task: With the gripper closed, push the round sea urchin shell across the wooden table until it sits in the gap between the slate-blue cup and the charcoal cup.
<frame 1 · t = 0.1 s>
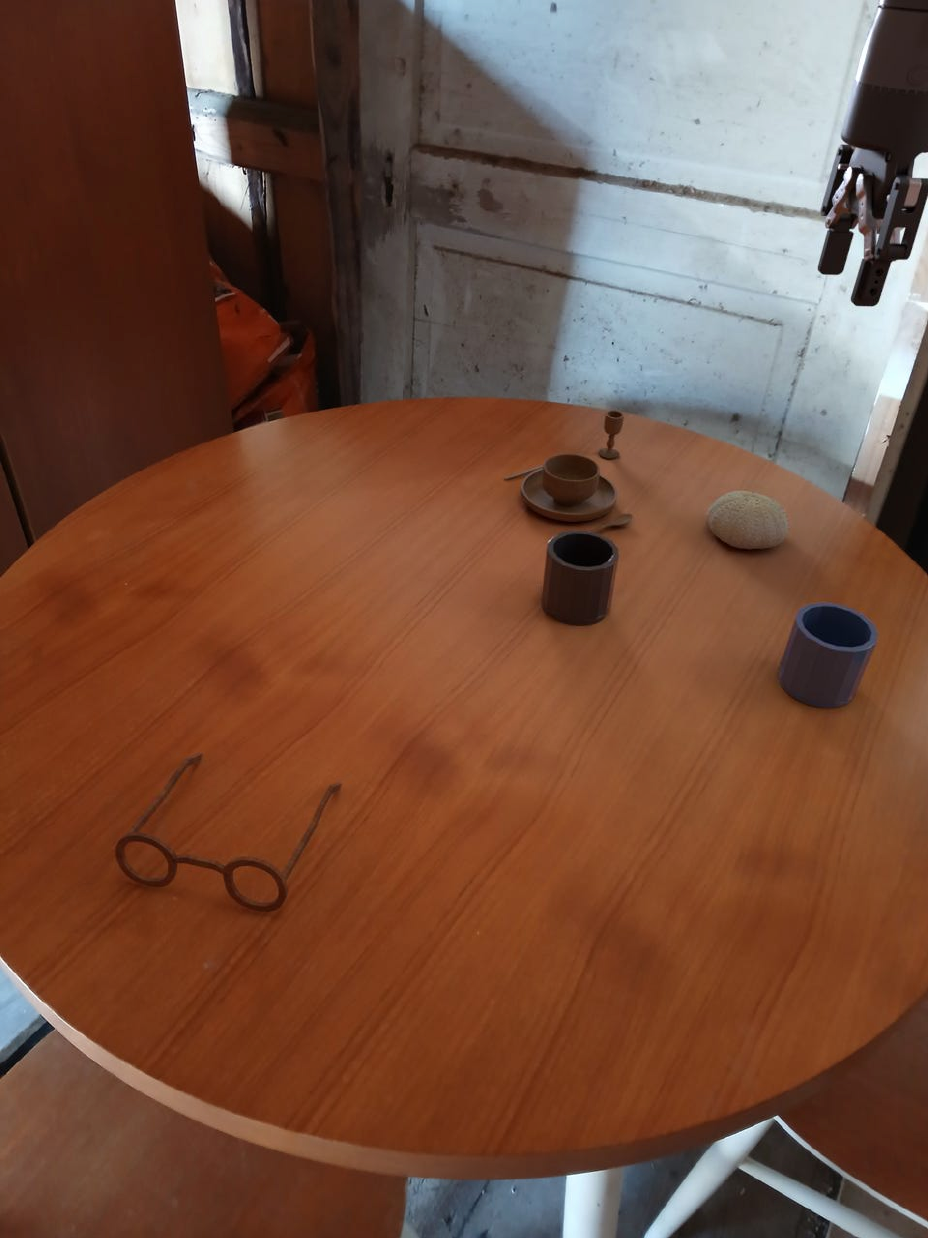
hand: (845, 288, 80), 32 cm above the table, tool pointing down, fingers open, 8 cm apart
blue cup: (815, 682, 87), on the table
glasses: (239, 833, 71), on the table
place setting: (591, 493, 115), on the table
sea urchin shell: (743, 536, 108), on the table
charcoal cup: (575, 604, 96), on the table
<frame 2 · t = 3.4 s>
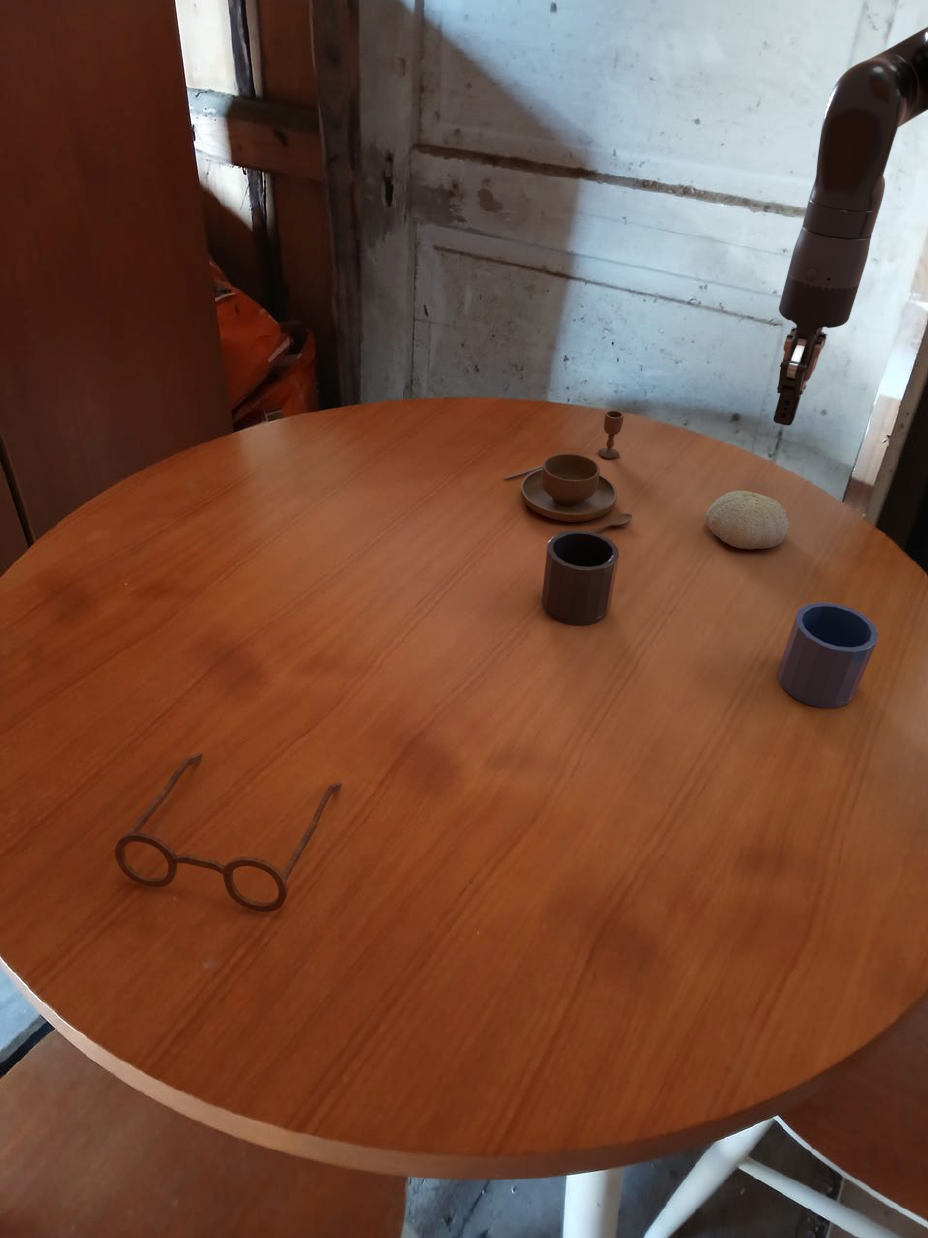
hand: (783, 421, 108), 11 cm above the table, tool pointing down, fingers closed
nothing on the table moved.
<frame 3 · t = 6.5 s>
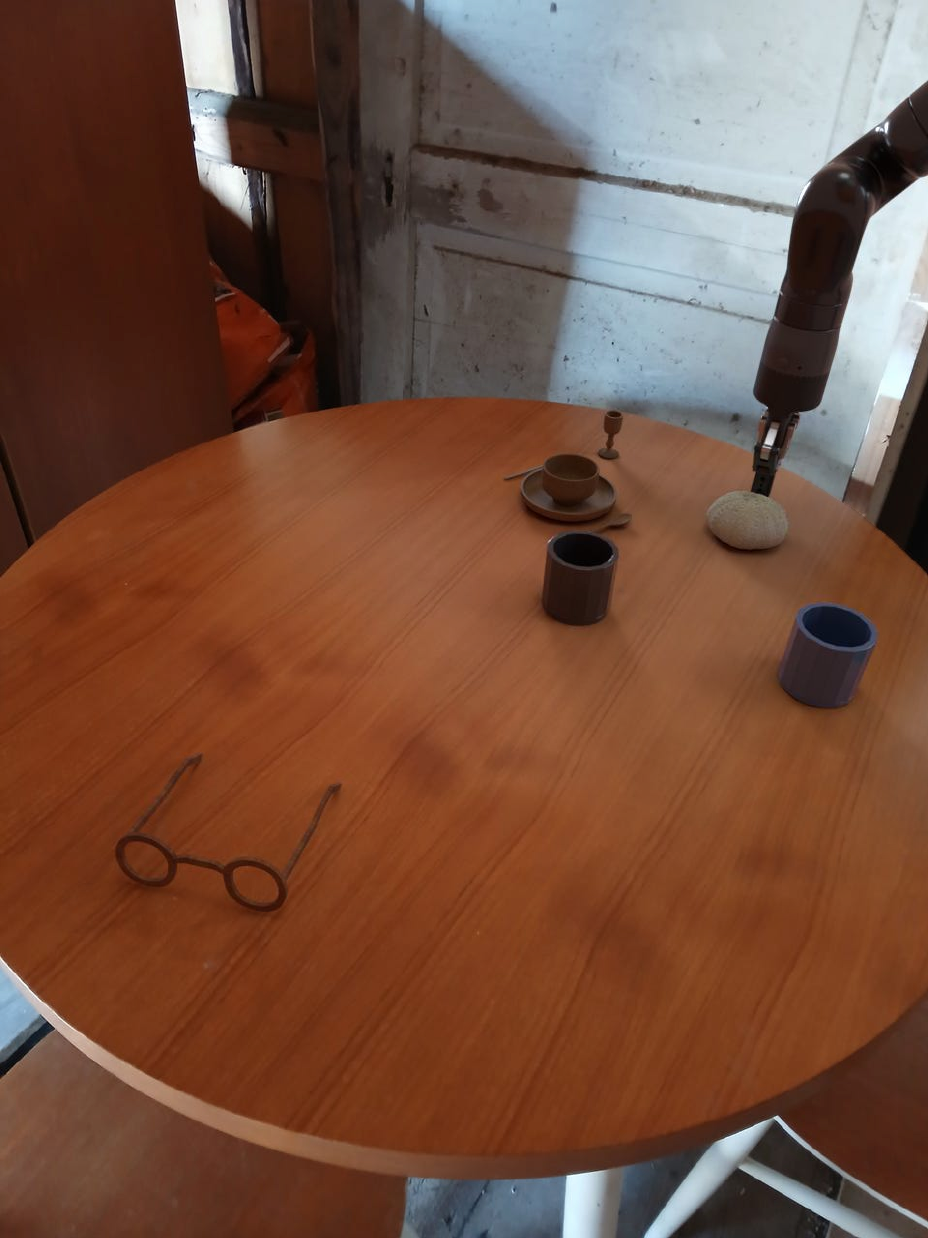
hand: (759, 495, 110), 3 cm above the table, tool pointing down, fingers closed
sea urchin shell: (743, 536, 108), on the table, touching gripper
everything else where it was.
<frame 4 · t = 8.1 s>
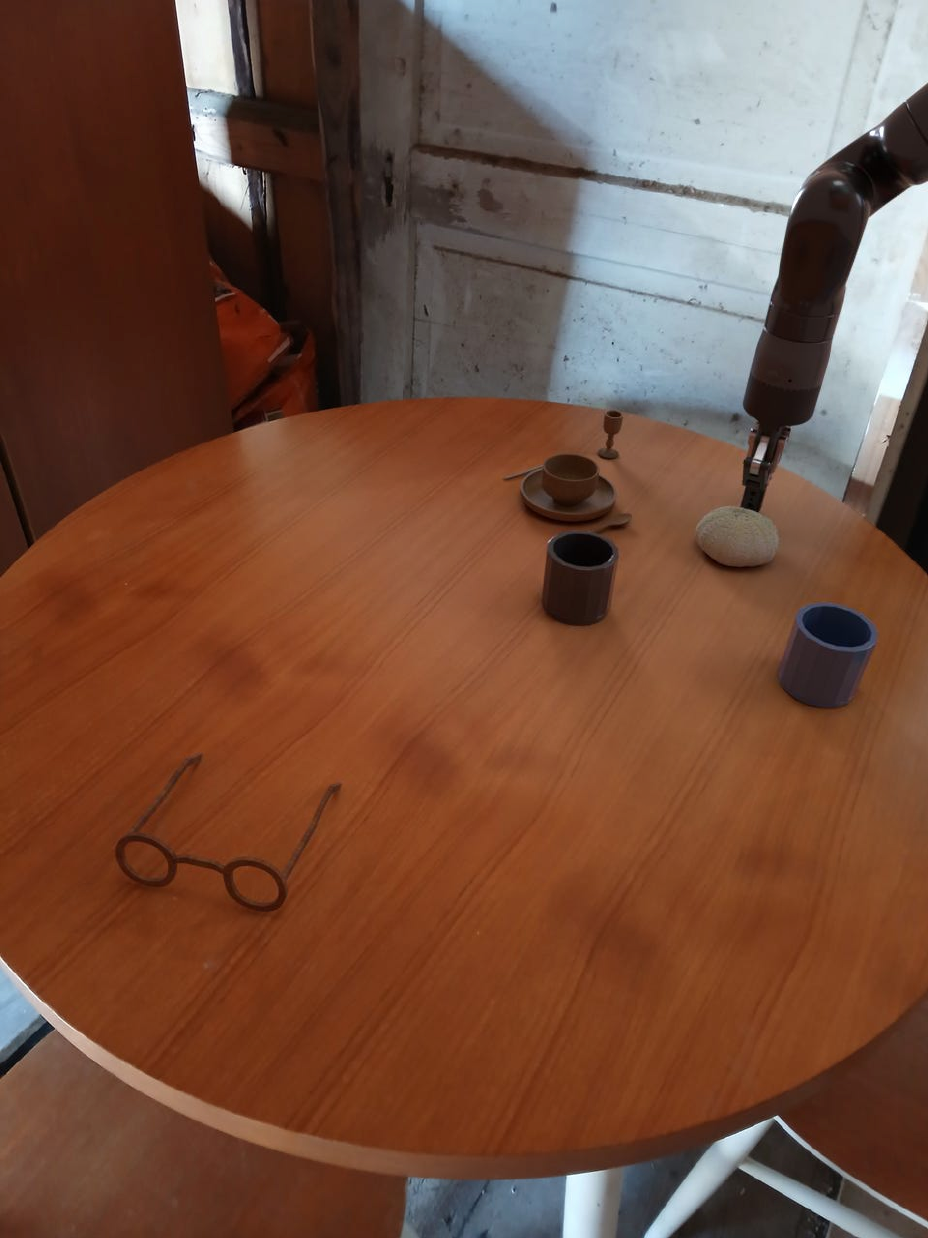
hand: (750, 510, 107), 3 cm above the table, tool pointing down, fingers closed
sea urchin shell: (733, 552, 105), on the table, touching gripper
everything else where it was.
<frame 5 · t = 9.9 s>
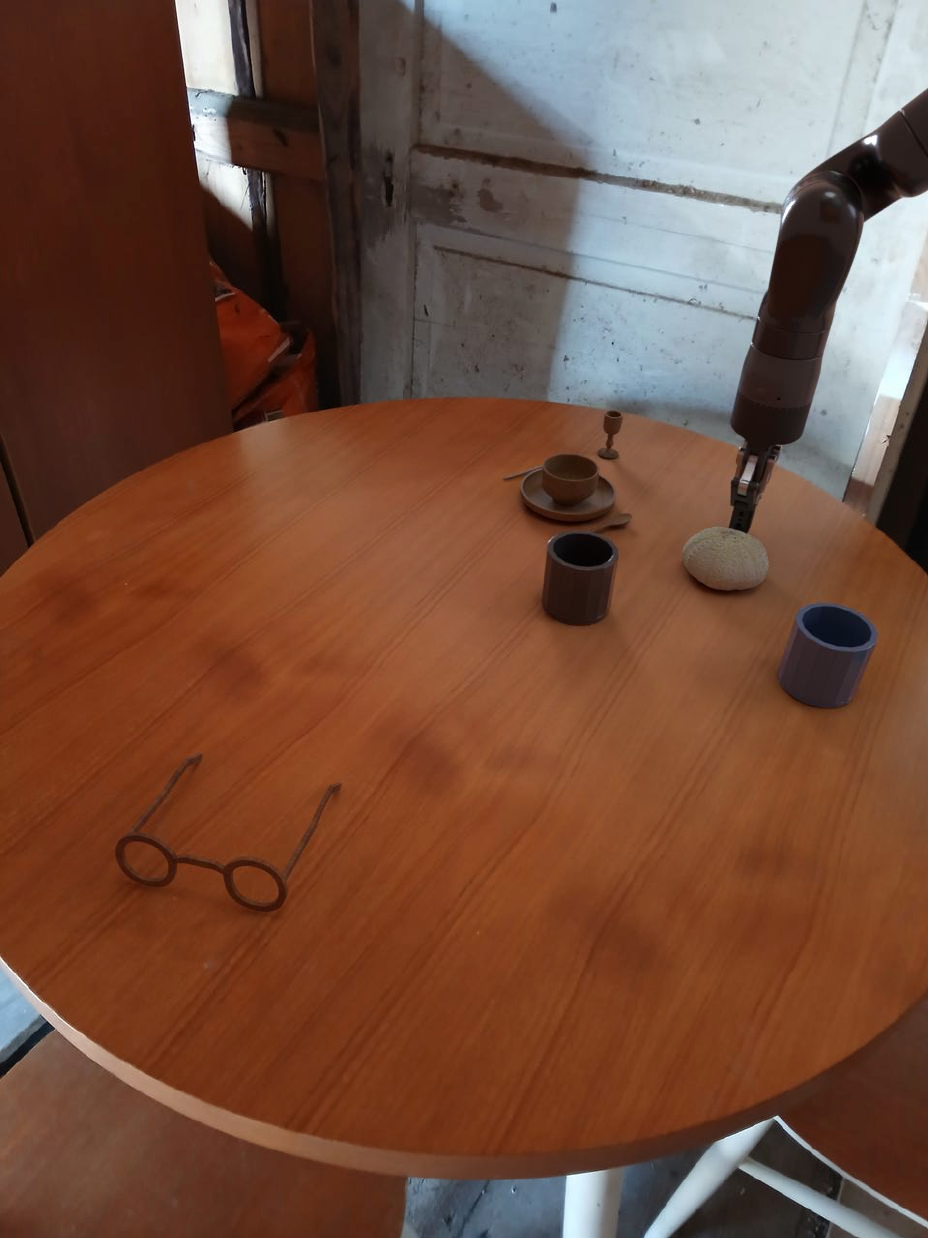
hand: (738, 530, 103), 3 cm above the table, tool pointing down, fingers closed
sea urchin shell: (721, 575, 101), on the table, touching gripper
everything else where it was.
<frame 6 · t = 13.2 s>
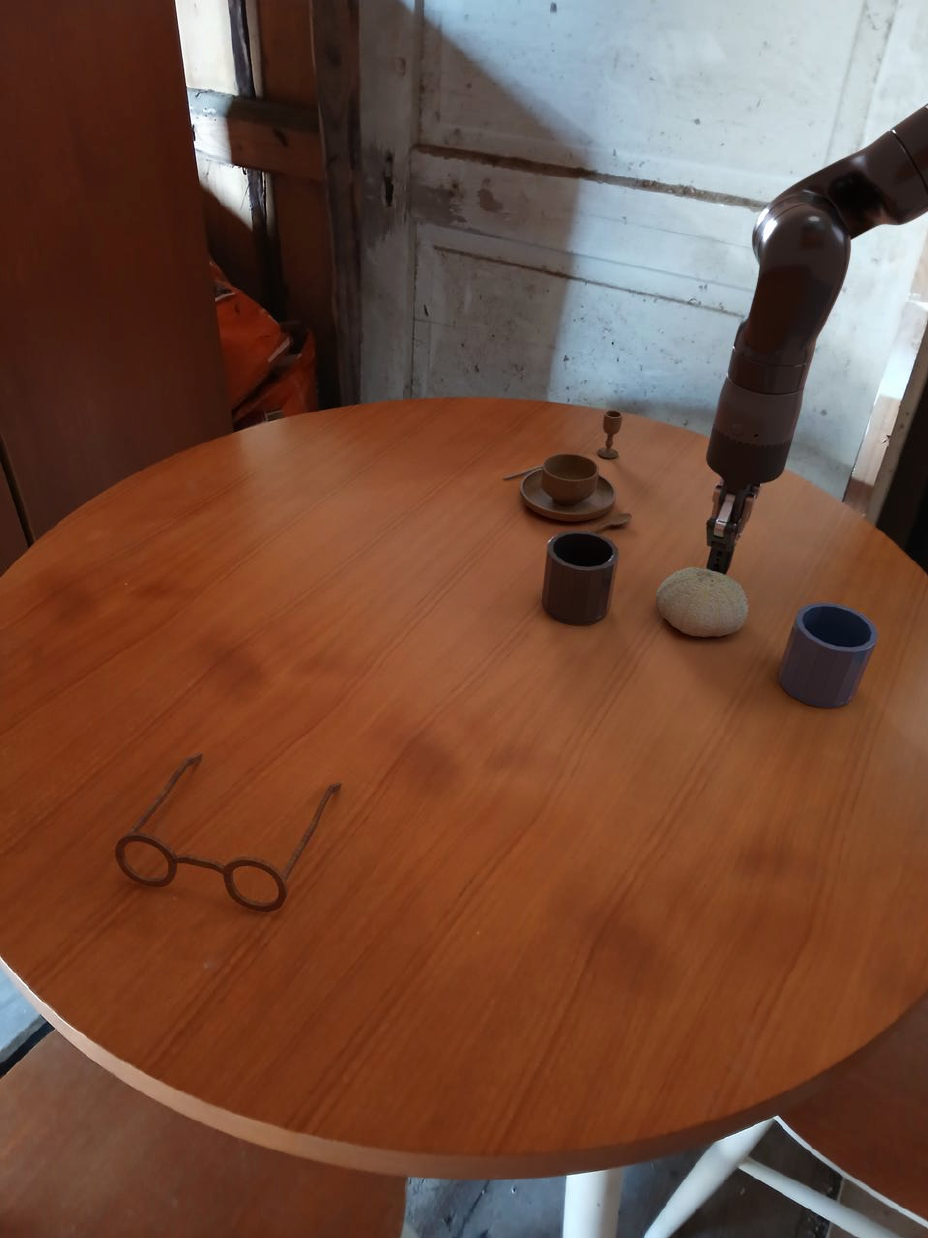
hand: (717, 570, 97), 3 cm above the table, tool pointing down, fingers closed
sea urchin shell: (698, 618, 95), on the table, touching gripper
everything else where it was.
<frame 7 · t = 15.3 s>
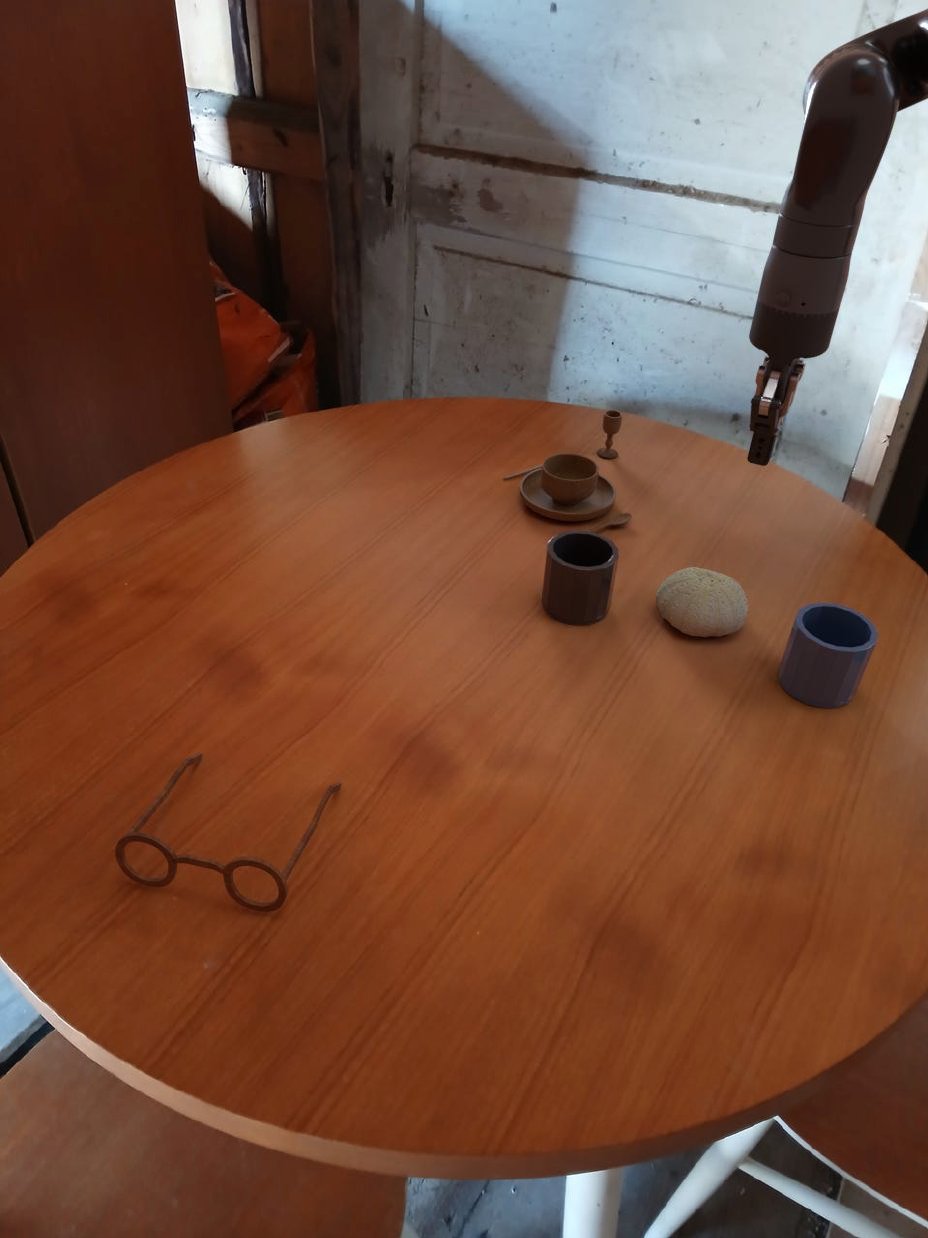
hand: (758, 461, 96), 13 cm above the table, tool pointing down, fingers closed
sea urchin shell: (698, 619, 95), on the table
everything else where it was.
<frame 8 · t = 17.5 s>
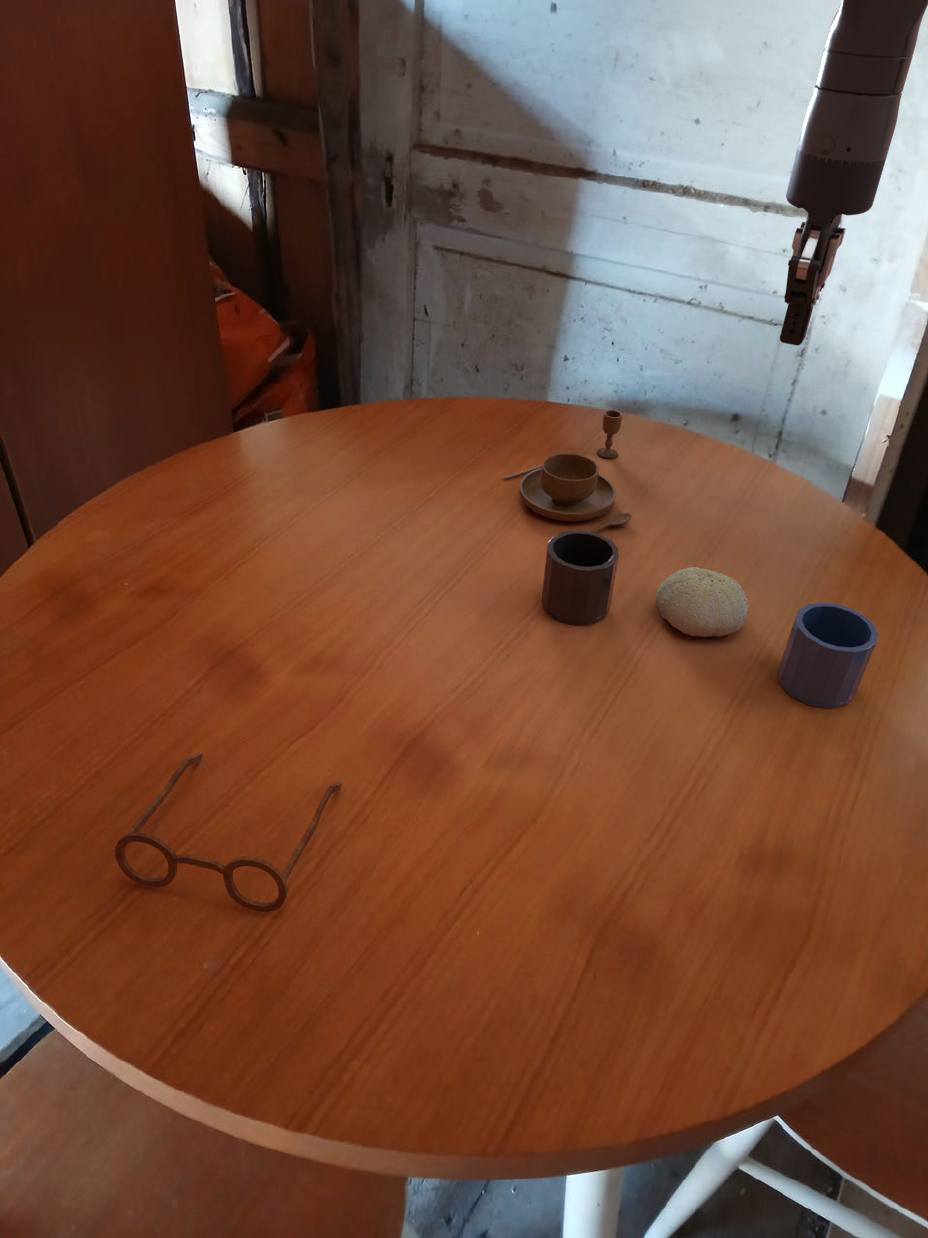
hand: (791, 341, 90), 25 cm above the table, tool pointing down, fingers closed
nothing on the table moved.
at the end: sea urchin shell inside the target area on the table beside the blue cup (3.4 cm from its centre), on the table; sea urchin shell moved 18.6 cm from its start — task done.
